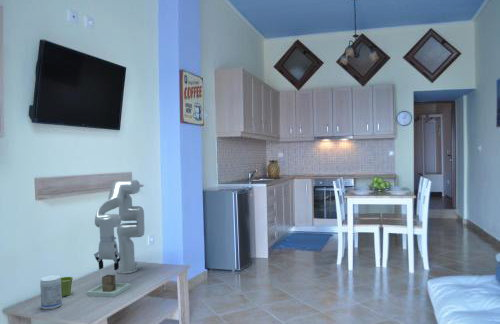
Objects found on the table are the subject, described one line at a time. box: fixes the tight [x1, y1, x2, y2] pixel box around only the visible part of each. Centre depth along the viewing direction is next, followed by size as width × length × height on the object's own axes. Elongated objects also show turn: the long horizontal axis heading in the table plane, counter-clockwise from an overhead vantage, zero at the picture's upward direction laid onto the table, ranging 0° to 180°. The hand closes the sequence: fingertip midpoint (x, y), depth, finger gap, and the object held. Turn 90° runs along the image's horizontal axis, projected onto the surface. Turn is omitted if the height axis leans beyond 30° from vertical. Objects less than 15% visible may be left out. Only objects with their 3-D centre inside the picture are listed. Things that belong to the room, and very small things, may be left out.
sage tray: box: [86, 282, 131, 298], centre depth 230 cm, size 16×16×2 cm
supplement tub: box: [39, 274, 63, 310], centre depth 209 cm, size 10×10×15 cm
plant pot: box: [61, 276, 74, 298], centre depth 227 cm, size 9×9×9 cm
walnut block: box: [101, 274, 117, 292], centre depth 230 cm, size 5×5×8 cm
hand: (108, 269), depth 231 cm, fingers open, 9 cm apart
